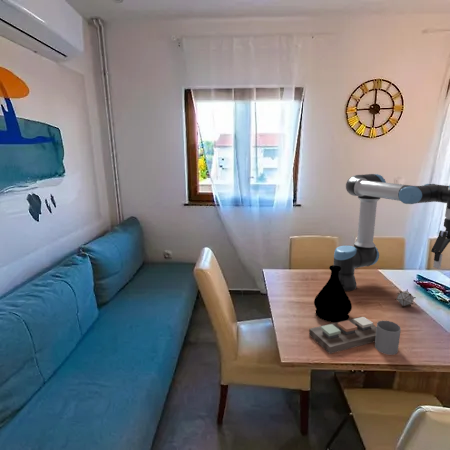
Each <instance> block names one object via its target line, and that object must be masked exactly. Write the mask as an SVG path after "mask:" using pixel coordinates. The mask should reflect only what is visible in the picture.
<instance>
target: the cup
mask: <svg viewBox="0 0 450 450" xmlns="http://www.w3.org/2000/svg"><path fill="white" fill-rule="evenodd" d="M376 327H377V328H376V337H375V342H374V348H375V349H376V350H377V351H378V352H380V353H382V354H385V355H387V356H389V355H391V356H392V355H393V356H394V355H397V353H398V352H399V345H400V338H401V331H402V330H401V326H399V324H398V323H395V322H393V321H389V320H378V321H377V322H376Z"/></svg>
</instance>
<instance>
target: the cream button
mask: <svg viewBox="0 0 450 450" xmlns="http://www.w3.org/2000/svg"><path fill="white" fill-rule="evenodd" d="M359 317H360V318H358V317H355V318H356V319H354V320H353V322H355V325H356V326H357V327H358V328H359V329H360V330H362V331H364V330H368V329H371V326H373V325H374V322H373V321H371V320H370V319H368V318H366V317H365V316H359Z"/></svg>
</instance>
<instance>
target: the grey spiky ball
mask: <svg viewBox="0 0 450 450" xmlns="http://www.w3.org/2000/svg"><path fill="white" fill-rule="evenodd" d="M414 299H416V297H415V296H414V295H412V293H410V292H409V290H408V289H406V290H404V291H401V290H399V292H397V296H396V298H394V300H395V301H397V302H398V303H399V304H400V305H401V306H402V308H404V307H407V306H410V307H411V306H412V305H414Z"/></svg>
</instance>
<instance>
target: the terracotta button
mask: <svg viewBox="0 0 450 450" xmlns="http://www.w3.org/2000/svg"><path fill="white" fill-rule="evenodd" d="M338 326H339V330H340V331H342V332H343V333H344V334H346V335H348V334H352V333H355V330H357V326H356V325H354V324H353V323H351V322H350V321H349V319H348V320H347V321H343V322H339V323H338Z"/></svg>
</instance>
